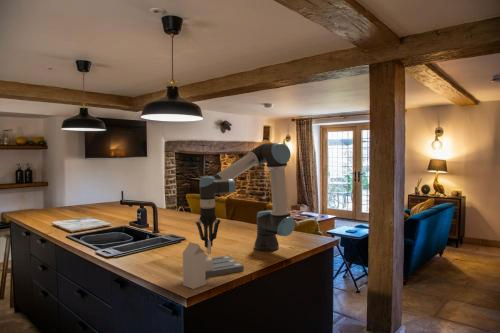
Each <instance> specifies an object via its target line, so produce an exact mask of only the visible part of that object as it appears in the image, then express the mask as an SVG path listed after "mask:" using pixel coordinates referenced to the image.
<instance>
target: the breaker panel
mask: <svg viewBox="0 0 500 333" xmlns="http://www.w3.org/2000/svg"><path fill="white" fill-rule="evenodd" d="M244 268H245V267H244V265H243V264H242V263H240V262H239V261H237V260H236V259H234V258H232V257H231V256H229V255H227V254H226V255H223V256H215V257H208V258H206V259H205V278H210V277H215V276H222V275H226V274H227V273H228V274H232V273H233V274H234V273H237V272H244Z"/></svg>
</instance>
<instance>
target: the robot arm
mask: <svg viewBox="0 0 500 333" xmlns="http://www.w3.org/2000/svg"><path fill="white" fill-rule="evenodd" d="M290 159H291V150H290V148H289V146H288V145H286V144H285V143H283V142H272V143H270V142H269V143H268V142H266V143H262V144H259V145H257V146H255V147H254V148H252V149H251V150H250V151H248V152H247V154H246V155H244V156H242V158H240V159H238V160H237V161H235V162H233V163H232V164H230V165H229V166H226V167H225V168H224V169H222V170H220V171H219V172H217V173H216V174H214V175H212V176H210V175H208V176H201V177H200V178H199V184H198V185H199V206H200V208H199V213H200V215H199V216H200V217H199V220H198V221H195V225H196V226H197V230H198V233H199V238H200V240H201V241H204V247H205V249H206V251H205V253H206V255H211V254H212V247H213V245H214V244H213V243H214V242H213V241H214V240H216V239H217V236H218V231H219V225H220V223H221V220H220V219H218V218H217V216H216V195H224V194H231V193H234V192H235V191H236V185H237V184H236V182H235V180H234V179H236V178H237V177H238V176H240V175H241V174H243V173H245V172H246V171H247V170H249V169H251V168H253V167H257V166H259V165H261V164H266V167H267V169H269V174H270V188H271V191H270V192H271V202H272V203H271V204H272V206H271V207H272V210H270V209H269V210H261V211H258V212H257V213H256V237H255V238H256V239H255V241H254V244H253V247H254V249H255V250H257V251H262V252H271V251H276V249H277V250H278V249H279V242H278V239H277V235H278V236H280V237H288V236H290V235H292V234H293V232H294V230H295V228H296V221H295V218H293V217H292V216H291V210H289V209H288V198H287V184H286V167H287V166H288V162H289V161H290ZM201 225H203V228H202V226H201Z"/></svg>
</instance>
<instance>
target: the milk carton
mask: <svg viewBox="0 0 500 333" xmlns="http://www.w3.org/2000/svg"><path fill="white" fill-rule="evenodd" d="M205 254H206V251H205V250H203V249H202V248H201V246H200V244H199V243H194V242H190V241H188V245H186V247H185V249H184V250H183V252H182V284H183V287H187V288H189V289H192V290H195V289H198V288H200V287H203V286H206V277H205Z"/></svg>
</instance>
